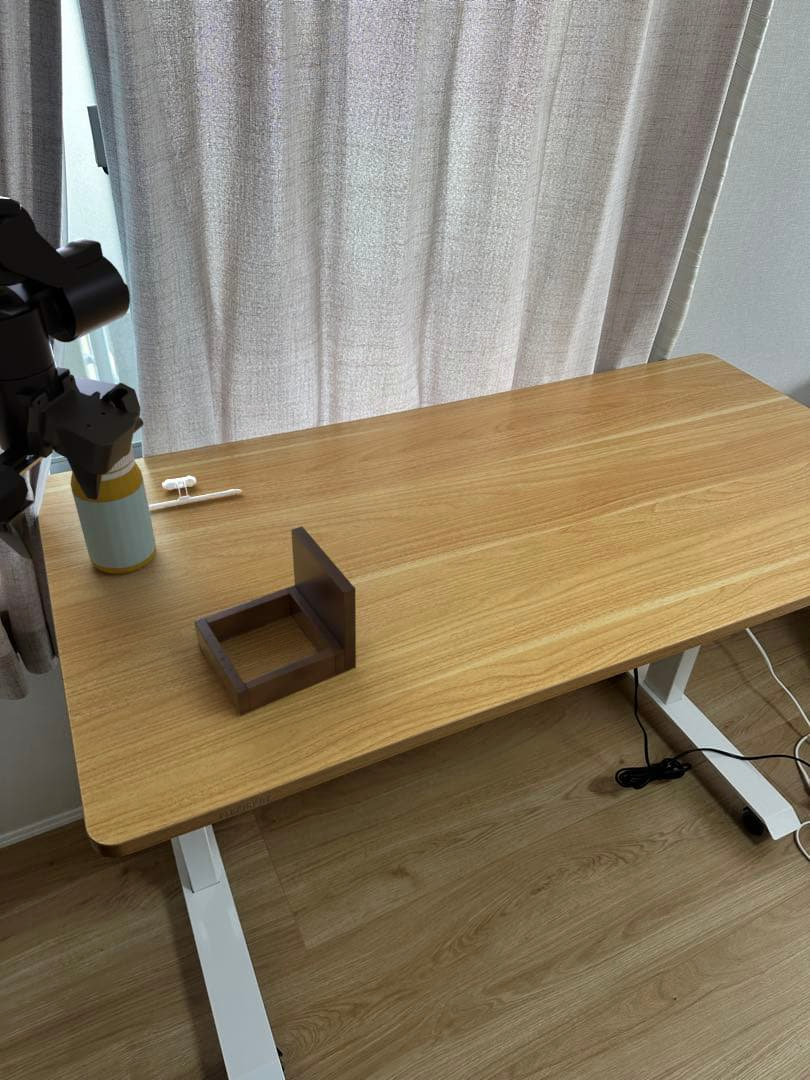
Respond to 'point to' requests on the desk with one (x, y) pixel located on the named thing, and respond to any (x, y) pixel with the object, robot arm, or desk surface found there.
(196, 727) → the desk surface
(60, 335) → the robot arm
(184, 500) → the picture light
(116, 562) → the bottle
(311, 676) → the tray
